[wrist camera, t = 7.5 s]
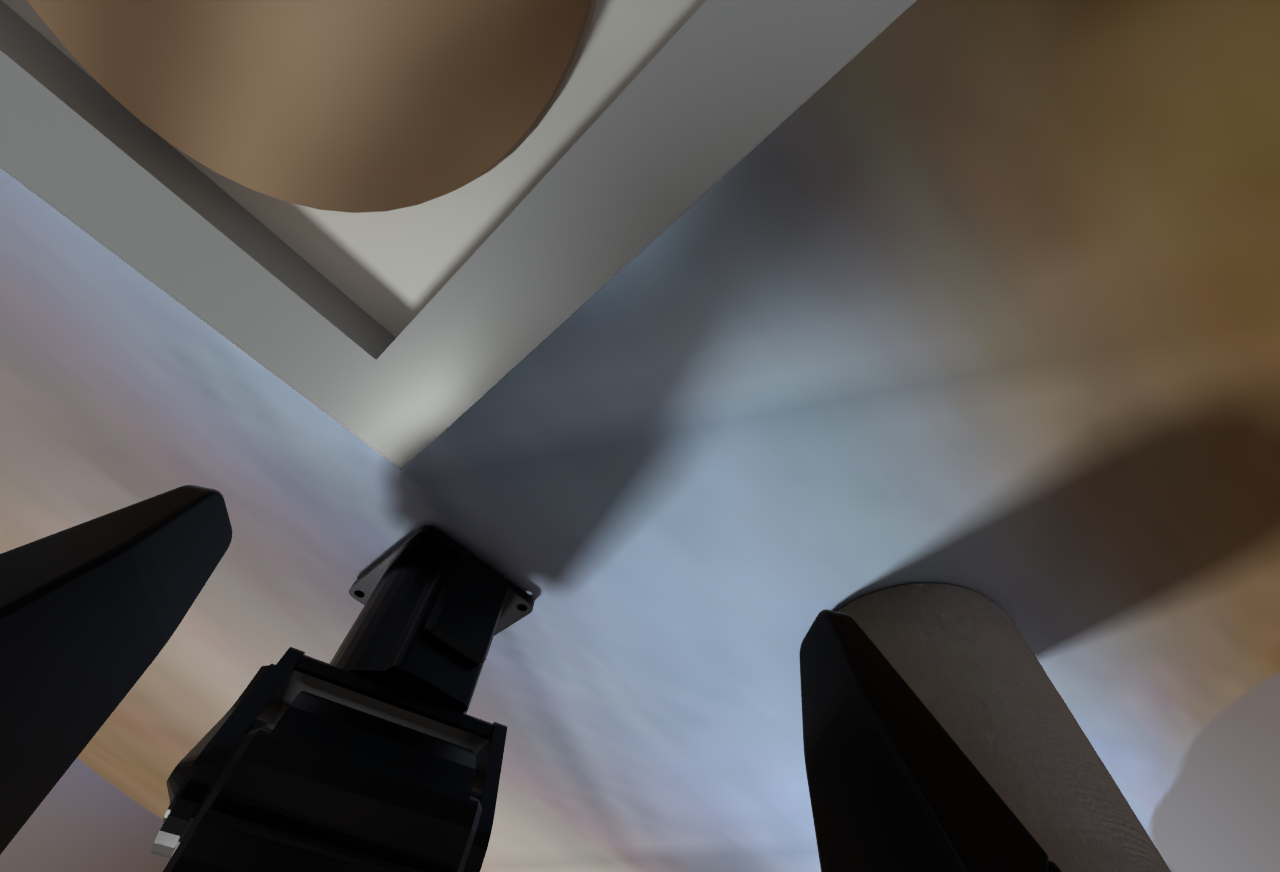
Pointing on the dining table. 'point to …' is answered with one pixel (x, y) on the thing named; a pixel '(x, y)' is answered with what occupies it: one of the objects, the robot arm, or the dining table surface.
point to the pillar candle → (1008, 722)
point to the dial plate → (431, 204)
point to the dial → (332, 86)
